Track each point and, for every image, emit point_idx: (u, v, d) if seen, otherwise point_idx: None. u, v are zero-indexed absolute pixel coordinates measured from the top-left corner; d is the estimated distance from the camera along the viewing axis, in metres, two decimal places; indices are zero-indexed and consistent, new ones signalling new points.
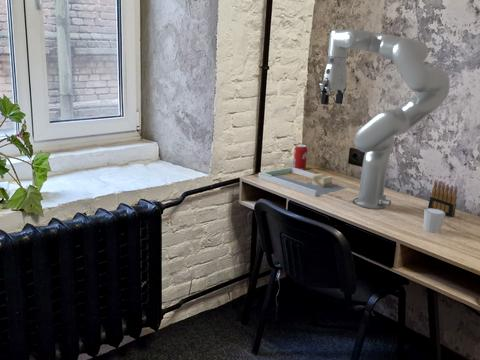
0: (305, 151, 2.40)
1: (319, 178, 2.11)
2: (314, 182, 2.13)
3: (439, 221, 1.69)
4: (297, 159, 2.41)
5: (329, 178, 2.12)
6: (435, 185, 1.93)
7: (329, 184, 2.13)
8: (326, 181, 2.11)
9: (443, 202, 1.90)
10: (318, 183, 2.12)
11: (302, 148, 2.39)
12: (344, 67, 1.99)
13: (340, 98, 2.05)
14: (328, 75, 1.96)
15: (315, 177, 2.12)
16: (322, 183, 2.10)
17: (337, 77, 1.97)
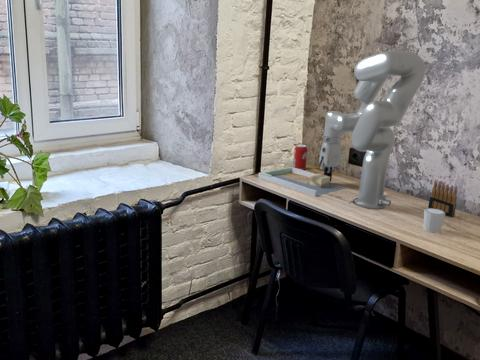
0: (305, 151, 2.40)
1: (317, 178, 2.10)
2: (312, 182, 2.12)
3: (439, 221, 1.69)
4: (297, 159, 2.41)
5: (327, 178, 2.11)
6: (435, 185, 1.93)
7: (327, 184, 2.12)
8: (324, 181, 2.10)
9: (443, 202, 1.90)
10: (316, 183, 2.11)
11: (302, 148, 2.39)
12: (339, 145, 2.12)
13: (329, 176, 2.15)
14: (324, 153, 2.10)
15: (313, 177, 2.12)
16: (320, 183, 2.09)
17: (332, 155, 2.10)
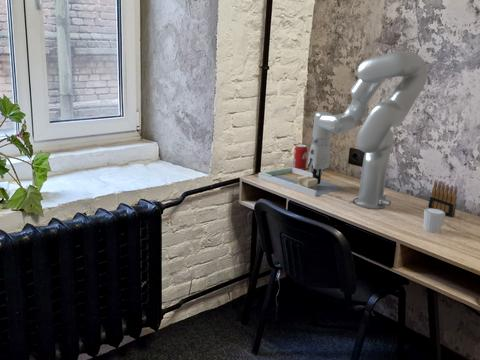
0: (305, 151, 2.40)
1: (303, 180, 2.05)
2: None
3: (439, 221, 1.69)
4: (297, 159, 2.41)
5: (314, 181, 2.06)
6: (435, 185, 1.93)
7: (314, 187, 2.07)
8: (311, 184, 2.05)
9: (443, 202, 1.90)
10: None
11: (302, 148, 2.39)
12: (328, 147, 2.07)
13: (318, 179, 2.10)
14: (312, 155, 2.04)
15: (300, 179, 2.07)
16: (306, 186, 2.05)
17: (321, 157, 2.05)
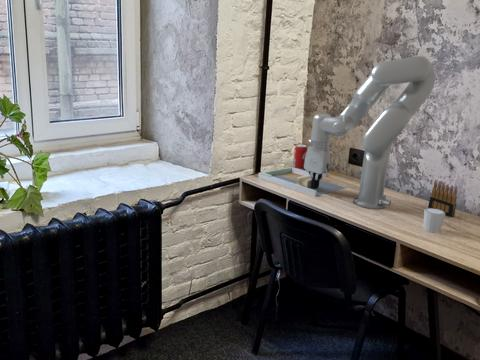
0: (305, 151, 2.40)
1: (303, 180, 2.06)
2: None
3: (439, 221, 1.69)
4: (297, 159, 2.41)
5: None
6: (435, 185, 1.93)
7: None
8: None
9: (443, 202, 1.90)
10: (302, 185, 2.06)
11: (302, 148, 2.39)
12: (319, 151, 1.97)
13: None
14: None
15: (299, 179, 2.07)
16: (306, 185, 2.05)
17: (309, 159, 2.01)
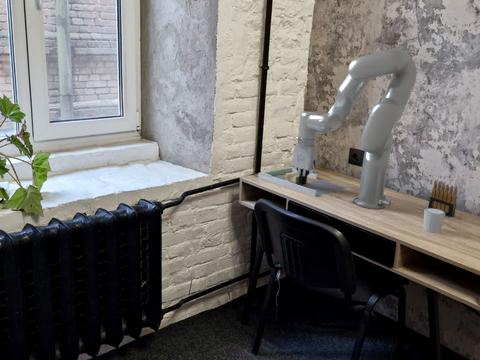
0: None
1: (291, 176, 2.10)
2: None
3: (439, 221, 1.69)
4: None
5: None
6: (435, 185, 1.93)
7: None
8: None
9: (443, 202, 1.90)
10: (290, 181, 2.11)
11: None
12: (306, 148, 2.01)
13: None
14: None
15: (288, 175, 2.12)
16: (294, 181, 2.10)
17: (297, 155, 2.05)
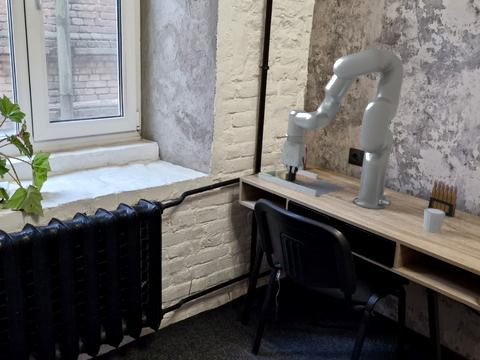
0: None
1: (281, 173, 2.15)
2: (277, 177, 2.17)
3: (439, 221, 1.69)
4: None
5: None
6: (435, 185, 1.93)
7: None
8: None
9: (443, 202, 1.90)
10: (281, 178, 2.15)
11: None
12: (295, 145, 2.06)
13: None
14: None
15: (278, 172, 2.16)
16: (284, 178, 2.14)
17: (286, 152, 2.09)
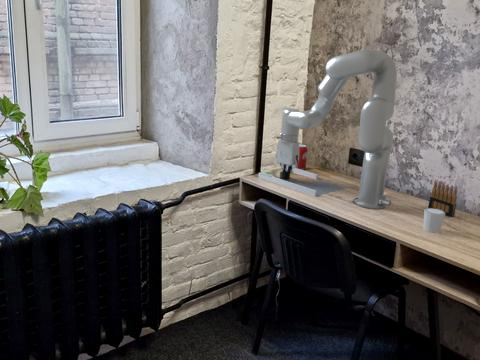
0: (305, 151, 2.40)
1: (276, 171, 2.17)
2: (272, 175, 2.19)
3: (439, 221, 1.69)
4: None
5: None
6: (435, 185, 1.93)
7: None
8: None
9: (443, 202, 1.90)
10: (275, 176, 2.18)
11: (302, 148, 2.39)
12: (288, 144, 2.08)
13: None
14: None
15: (272, 170, 2.19)
16: (278, 176, 2.16)
17: (280, 151, 2.12)
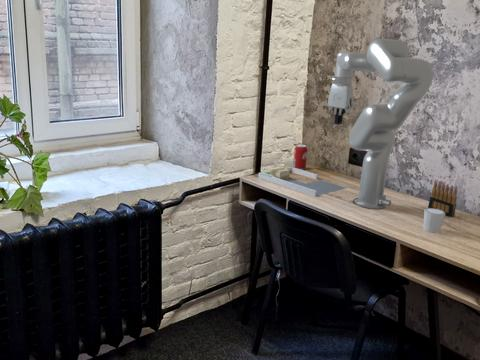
0: (305, 151, 2.40)
1: (276, 171, 2.17)
2: (272, 175, 2.19)
3: (439, 221, 1.69)
4: (297, 159, 2.41)
5: (286, 171, 2.18)
6: (435, 185, 1.93)
7: (286, 177, 2.19)
8: (283, 174, 2.17)
9: (443, 202, 1.90)
10: (275, 176, 2.18)
11: (302, 148, 2.39)
12: (343, 87, 2.09)
13: None
14: None
15: (272, 170, 2.19)
16: (278, 176, 2.16)
17: (333, 95, 2.13)
